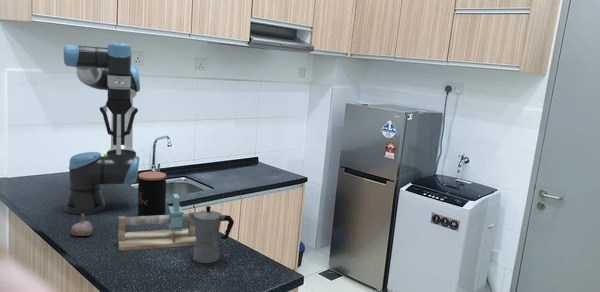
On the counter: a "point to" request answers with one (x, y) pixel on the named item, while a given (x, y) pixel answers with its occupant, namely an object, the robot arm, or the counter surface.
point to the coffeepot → (208, 234)
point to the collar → (175, 215)
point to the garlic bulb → (82, 228)
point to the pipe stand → (154, 233)
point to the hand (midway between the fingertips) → (118, 153)
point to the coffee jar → (151, 194)
